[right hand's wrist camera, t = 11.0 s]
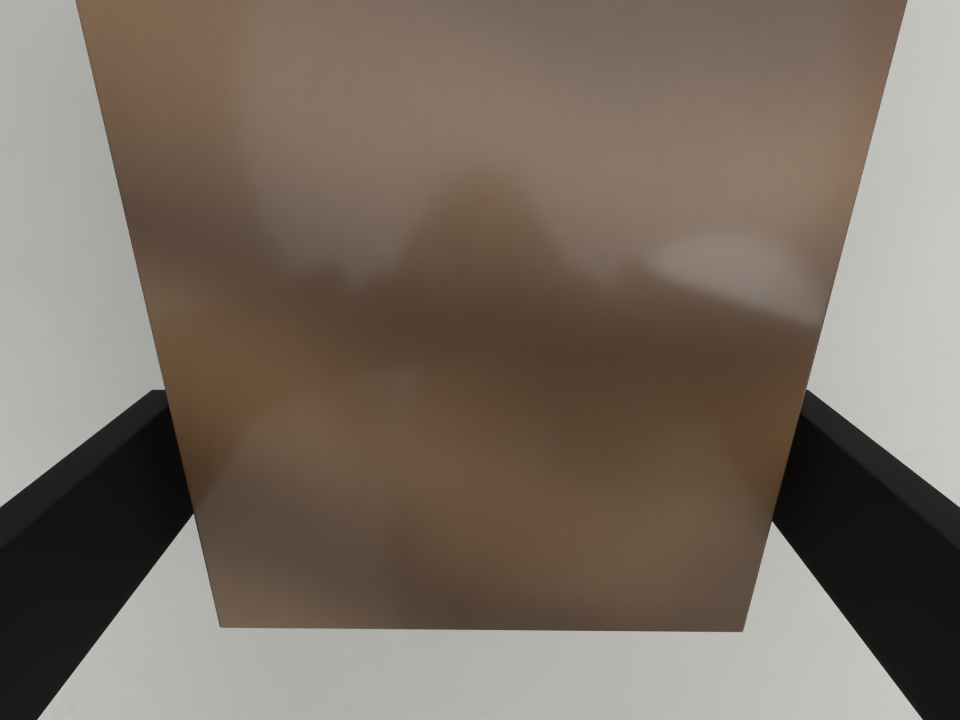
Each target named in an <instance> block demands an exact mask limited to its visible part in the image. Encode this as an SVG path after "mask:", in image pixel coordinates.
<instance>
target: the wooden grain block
mask: <svg viewBox="0 0 960 720" xmlns="http://www.w3.org/2000/svg"><path fill="white" fill-rule="evenodd" d="M76 4H77V8H78V13H79V17H80V21H81V26H82V30H83V34H84V39H85V43H86V47H87V52H88V56H89V60H90V65H91V69H92V73H93V78H94V82H95V86H96V91H97V95H98V99H99V104H100V108H101V112H102V117H103V121H104V126H105V130H106V134H107V139H108V143H109V147H110V152H111V156H112V160H113V165H114V169H115V173H116V178H117V182H118V186H119V191H120V195H121V199H122V204H123V208H124V212H125V217H126V221H127V225H128V230H129V234H130V238H131V243H132V247H133V251H134V256H135V260H136V264H137V269H138V273H139V277H140V282H141V286H142V290H143V295H144V299H145V303H146V308H147V312H148V316H149V321H150V325H151V329H152V334H153V338H154V343H155V347H156V351H157V356H158V360H159V364H160V369H161V373H162V377H163V382H164V386H165V390H166V395H167V399H168V403H169V408H170V412H171V416H172V421H173V425H174V429H175V434H176V438H177V442H178V447H179V451H180V455H181V460H182V464H183V468H184V473H185V477H186V481H187V486H188V490H189V494H190V499H191V503H192V507H193V512H194V516H195V520H196V525H197V529H198V533H199V538H200V542H201V546H202V551H203V555H204V559H205V564H206V568H207V573H208V577H209V581H210V586H211V590H212V594H213V599H214V603H215V607H216V612H217V616H218V620H219V625H220V627H222V628H326V629H444V630H562V631H680V632H742V631H743V629H744V625H745V622H746V618H747V614H748V610H749V606H750V602H751V599H752V595H753V591H754V587H755V583H756V579H757V576H758V572H759V568H760V564H761V560H762V556H763V553H764V549H765V545H766V541H767V537H768V533H769V530H770V526H771V522H772V518H773V514H774V510H775V507H776V503H777V499H778V495H779V491H780V487H781V484H782V480H783V476H784V472H785V468H786V464H787V461H788V457H789V453H790V449H791V445H792V441H793V438H794V434H795V430H796V426H797V422H798V418H799V415H800V411H801V407H802V403H803V399H804V395H805V391H806V388H807V384H808V380H809V376H810V372H811V368H812V365H813V361H814V357H815V353H816V349H817V345H818V342H819V338H820V334H821V330H822V326H823V322H824V319H825V315H826V311H827V307H828V303H829V299H830V296H831V292H832V288H833V284H834V280H835V276H836V273H837V269H838V265H839V261H840V257H841V253H842V250H843V246H844V242H845V238H846V234H847V230H848V227H849V223H850V219H851V215H852V211H853V207H854V204H855V200H856V196H857V192H858V188H859V184H860V181H861V177H862V173H863V169H864V165H865V161H866V158H867V154H868V150H869V146H870V142H871V138H872V134H873V131H874V127H875V123H876V119H877V115H878V111H879V108H880V104H881V100H882V96H883V92H884V88H885V85H886V81H887V77H888V73H889V69H890V65H891V62H892V58H893V54H894V50H895V46H896V42H897V39H898V35H899V31H900V27H901V23H902V19H903V16H904V12H905V8H906V4H907V0H76Z"/></svg>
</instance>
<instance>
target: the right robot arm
mask: <svg viewBox="0 0 960 720" xmlns="http://www.w3.org/2000/svg"><path fill="white" fill-rule="evenodd" d="M193 513H194V512H193V507H192V503H191V499H190V494H189V490H188V486H187V481H186V477H185V473H184V468H183V464H182V460H181V455H180V451H179V447H178V442H177V438H176V434H175V429H174V425H173V421H172V416H171V412H170V408H169V403H168V399H167V395H166V390H151V391H150V392H149V393H147V394H146V395H145V396H144V397H142V398H141V399H140V400H138V401H137V402H136V403H134V404H133V405H132V406H131V407H129V408H128V409H127V410H125V411H124V412H123V413H122V414H120V415H119V416H118V417H116V418H115V419H114V420H113V421H111V422H110V423H109V424H107V425H106V426H105V427H104V428H102V429H101V430H100V431H98V432H97V433H96V434H94V435H93V436H92V437H91V438H89V439H88V440H87V441H85V442H84V443H83V444H82V445H80V446H79V447H78V448H76V449H75V450H74V451H73V452H71V453H70V454H69V455H67V456H66V457H65V458H64V459H62V460H61V461H60V462H58V463H57V464H56V465H54V466H53V467H52V468H51V469H49V470H48V471H47V472H45V473H44V474H43V475H42V476H40V477H39V478H38V479H36V480H35V481H34V482H33V483H31V484H30V485H29V486H27V487H26V488H25V489H24V490H22V491H21V492H20V493H18V494H17V495H16V496H14V497H13V498H12V499H11V500H9V501H8V502H7V503H5V504H4V505H3V506H2V507H0V720H37V719H38V718H39V716H40V715H41V714H42V712H43V711H44V710H45V709H46V707H47V706H48V705H49V703H50V702H51V701H52V699H53V698H54V697H55V695H56V694H57V693H58V691H59V690H60V689H61V687H62V686H63V685H64V683H65V682H66V681H67V680H68V678H69V677H70V676H71V674H72V673H73V672H74V670H75V669H76V668H77V666H78V665H79V664H80V662H81V661H82V660H83V658H84V657H85V656H86V654H87V653H88V652H89V651H90V649H91V648H92V647H93V645H94V644H95V643H96V641H97V640H98V639H99V637H100V636H101V635H102V633H103V632H104V631H105V629H106V628H107V627H108V625H109V624H110V623H111V622H112V620H113V619H114V618H115V616H116V615H117V614H118V612H119V611H120V610H121V608H122V607H123V606H124V604H125V603H126V602H127V600H128V599H129V598H130V596H131V595H132V594H133V593H134V591H135V590H136V589H137V587H138V586H139V585H140V583H141V582H142V581H143V579H144V578H145V577H146V575H147V574H148V573H149V571H150V570H151V569H152V567H153V566H154V565H155V564H156V562H157V561H158V560H159V558H160V557H161V556H162V554H163V553H164V552H165V550H166V549H167V548H168V546H169V545H170V544H171V542H172V541H173V540H174V538H175V537H176V536H177V535H178V533H179V532H180V531H181V529H182V528H183V527H184V525H185V524H186V523H187V521H188V520H189V519H190V517H191V516H192V515H193ZM772 521H773V523H774V524H775V525H776V527H777V528H778V529H779V531H780V532H781V533H782V535H783V536H784V537H785V538H786V540H787V541H788V542H789V544H790V545H791V546H792V548H793V549H794V550H795V552H796V553H797V554H798V556H799V557H800V558H801V560H802V561H803V562H804V564H805V565H806V566H807V567H808V569H809V570H810V571H811V573H812V574H813V575H814V577H815V578H816V579H817V581H818V582H819V583H820V585H821V586H822V587H823V589H824V590H825V591H826V593H827V594H828V595H829V596H830V598H831V599H832V600H833V602H834V603H835V604H836V606H837V607H838V608H839V610H840V611H841V612H842V614H843V615H844V616H845V618H846V619H847V620H848V622H849V623H850V624H851V625H852V627H853V628H854V629H855V631H856V632H857V633H858V635H859V636H860V637H861V639H862V640H863V641H864V643H865V644H866V645H867V647H868V648H869V649H870V651H871V652H872V653H873V654H874V656H875V657H876V658H877V660H878V661H879V662H880V664H881V665H882V666H883V668H884V669H885V670H886V672H887V673H888V674H889V676H890V677H891V678H892V680H893V681H894V682H895V683H896V685H897V686H898V687H899V689H900V690H901V691H902V693H903V694H904V695H905V697H906V698H907V699H908V701H909V702H910V703H911V705H912V706H913V707H914V709H915V710H916V711H917V712H918V714H919V715H920V716H921V718H922V719H923V720H960V507H958V506H957V505H956V504H955V503H953V502H952V501H951V500H949V499H948V498H947V497H946V496H944V495H943V494H942V493H940V492H939V491H938V490H936V489H935V488H934V487H933V486H931V485H930V484H929V483H927V482H926V481H925V480H924V479H922V478H921V477H920V476H918V475H917V474H916V473H915V472H913V471H912V470H911V469H909V468H908V467H907V466H906V465H904V464H903V463H902V462H900V461H899V460H898V459H896V458H895V457H894V456H893V455H891V454H890V453H889V452H887V451H886V450H885V449H884V448H882V447H881V446H880V445H878V444H877V443H876V442H875V441H873V440H872V439H871V438H869V437H868V436H867V435H866V434H864V433H863V432H862V431H860V430H859V429H858V428H856V427H855V426H854V425H853V424H851V423H850V422H849V421H847V420H846V419H845V418H844V417H842V416H841V415H840V414H838V413H837V412H836V411H835V410H833V409H832V408H831V407H829V406H828V405H827V404H826V403H824V402H823V401H822V400H820V399H819V398H818V397H816V396H815V395H814V394H813V393H811V392H810V391H809V390H806V391H805V395H804V399H803V403H802V407H801V411H800V415H799V418H798V422H797V426H796V430H795V434H794V438H793V441H792V445H791V449H790V453H789V457H788V461H787V464H786V468H785V472H784V476H783V480H782V484H781V487H780V491H779V495H778V499H777V503H776V507H775V510H774V514H773V518H772Z"/></svg>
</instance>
